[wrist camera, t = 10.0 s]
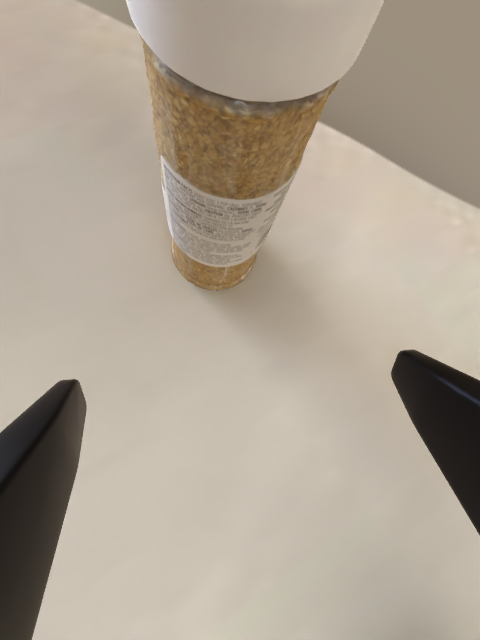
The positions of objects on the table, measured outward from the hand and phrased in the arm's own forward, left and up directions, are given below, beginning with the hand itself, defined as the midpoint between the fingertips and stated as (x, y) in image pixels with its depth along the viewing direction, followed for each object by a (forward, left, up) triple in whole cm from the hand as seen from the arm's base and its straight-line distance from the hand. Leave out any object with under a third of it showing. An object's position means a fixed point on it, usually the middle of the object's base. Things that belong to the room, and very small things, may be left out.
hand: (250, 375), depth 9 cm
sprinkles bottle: (+6, -3, -7) cm, 10 cm away
